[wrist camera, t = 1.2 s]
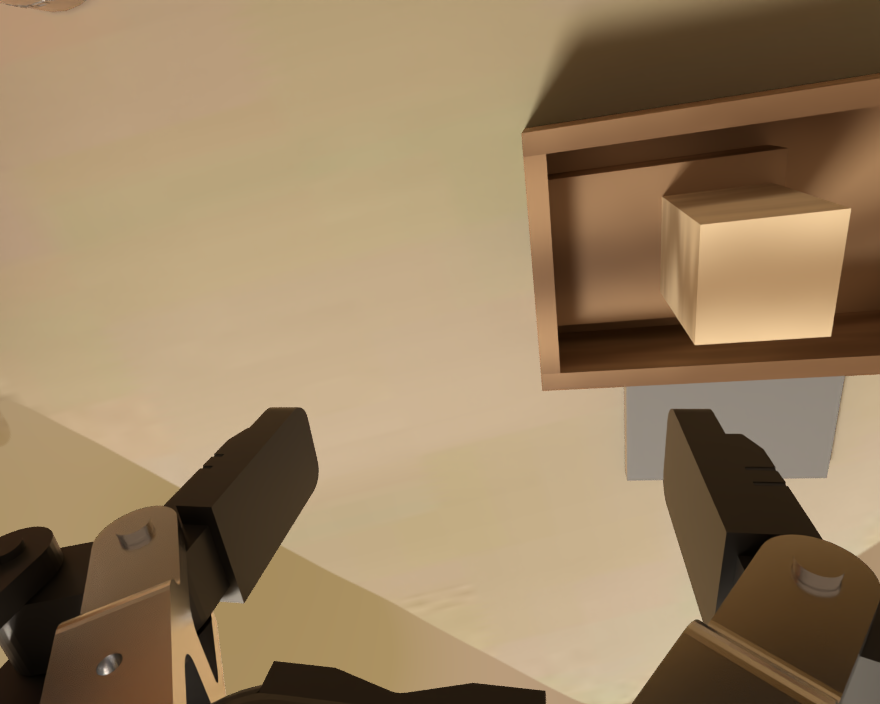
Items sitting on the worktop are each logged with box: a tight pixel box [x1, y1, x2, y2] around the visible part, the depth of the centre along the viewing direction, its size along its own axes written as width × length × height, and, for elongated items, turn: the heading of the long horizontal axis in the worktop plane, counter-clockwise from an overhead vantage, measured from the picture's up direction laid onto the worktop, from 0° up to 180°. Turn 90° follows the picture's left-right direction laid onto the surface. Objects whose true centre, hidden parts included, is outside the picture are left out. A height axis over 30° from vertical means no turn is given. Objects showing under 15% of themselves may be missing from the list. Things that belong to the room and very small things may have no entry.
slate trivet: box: [624, 376, 845, 481], centre depth 33 cm, size 9×12×1 cm
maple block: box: [660, 183, 851, 345], centre depth 24 cm, size 5×5×7 cm
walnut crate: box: [522, 73, 880, 391], centre depth 26 cm, size 13×20×6 cm, turn 99°
